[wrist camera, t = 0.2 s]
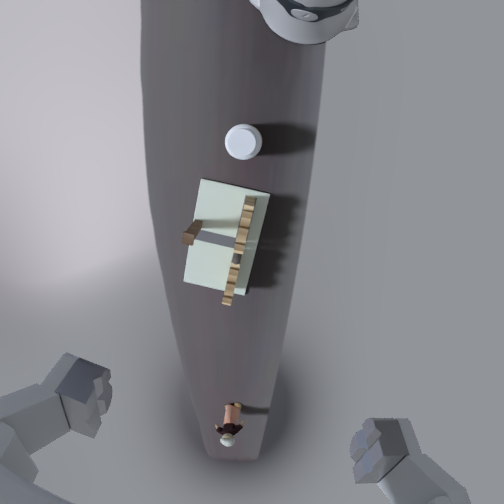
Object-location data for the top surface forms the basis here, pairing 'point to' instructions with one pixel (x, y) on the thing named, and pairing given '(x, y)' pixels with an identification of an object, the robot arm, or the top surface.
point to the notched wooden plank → (231, 282)
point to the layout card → (223, 235)
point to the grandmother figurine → (230, 424)
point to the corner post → (192, 232)
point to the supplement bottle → (243, 141)
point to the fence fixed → (243, 229)
